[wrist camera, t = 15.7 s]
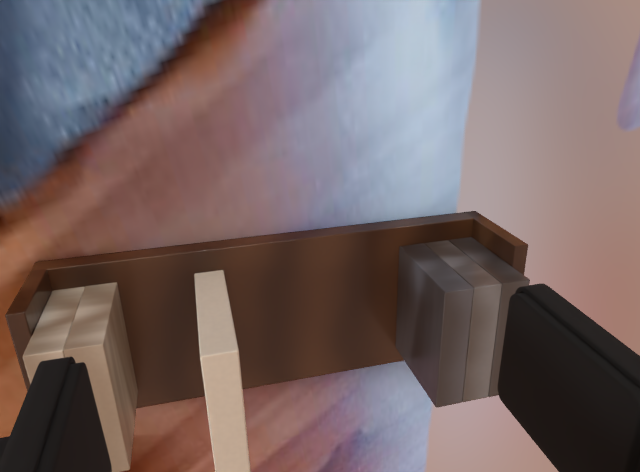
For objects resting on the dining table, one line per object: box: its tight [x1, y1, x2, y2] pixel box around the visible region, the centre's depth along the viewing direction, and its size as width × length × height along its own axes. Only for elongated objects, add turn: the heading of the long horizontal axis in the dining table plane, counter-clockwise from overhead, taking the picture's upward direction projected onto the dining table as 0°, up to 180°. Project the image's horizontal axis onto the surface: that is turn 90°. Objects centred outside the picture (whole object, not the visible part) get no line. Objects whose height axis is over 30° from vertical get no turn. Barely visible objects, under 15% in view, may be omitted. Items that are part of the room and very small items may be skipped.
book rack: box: [5, 211, 530, 472], centre depth 36 cm, size 32×12×9 cm, turn 91°
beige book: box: [194, 270, 251, 472], centre depth 34 cm, size 2×9×10 cm, turn 1°
